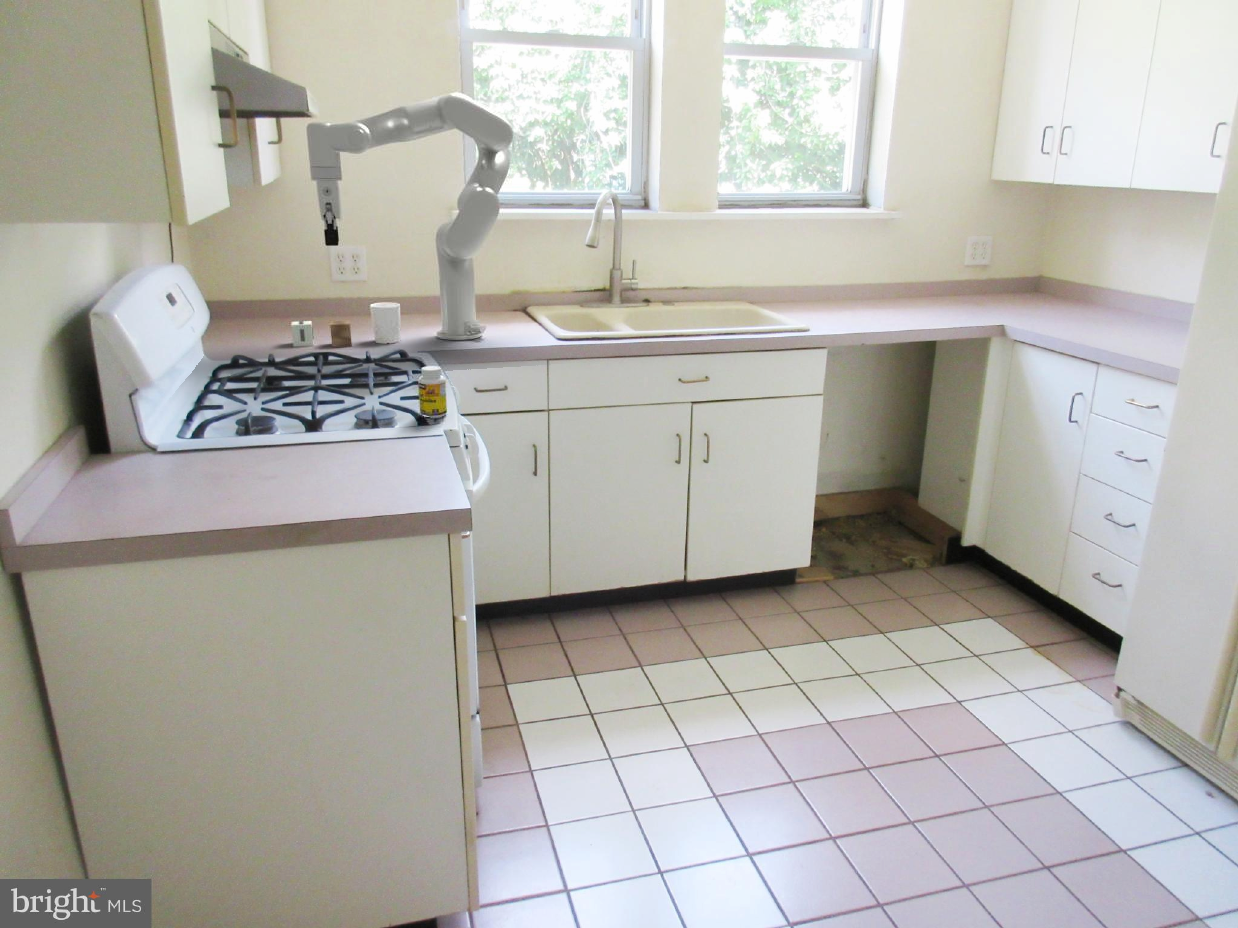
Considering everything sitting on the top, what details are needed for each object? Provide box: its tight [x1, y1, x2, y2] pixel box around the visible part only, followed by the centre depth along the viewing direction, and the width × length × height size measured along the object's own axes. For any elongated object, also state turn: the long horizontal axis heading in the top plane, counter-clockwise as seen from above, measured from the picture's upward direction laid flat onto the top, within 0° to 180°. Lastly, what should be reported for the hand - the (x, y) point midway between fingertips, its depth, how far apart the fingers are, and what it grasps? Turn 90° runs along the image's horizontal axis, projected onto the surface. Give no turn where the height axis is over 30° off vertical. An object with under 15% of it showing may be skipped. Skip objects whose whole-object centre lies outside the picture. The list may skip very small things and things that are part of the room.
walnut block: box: [329, 320, 353, 348], centre depth 241 cm, size 5×5×6 cm
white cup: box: [369, 301, 401, 345], centre depth 245 cm, size 8×8×10 cm
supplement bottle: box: [417, 365, 448, 419], centre depth 179 cm, size 5×5×10 cm
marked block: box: [290, 320, 314, 348], centre depth 241 cm, size 5×5×6 cm
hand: (332, 243), depth 234 cm, fingers open, 9 cm apart
